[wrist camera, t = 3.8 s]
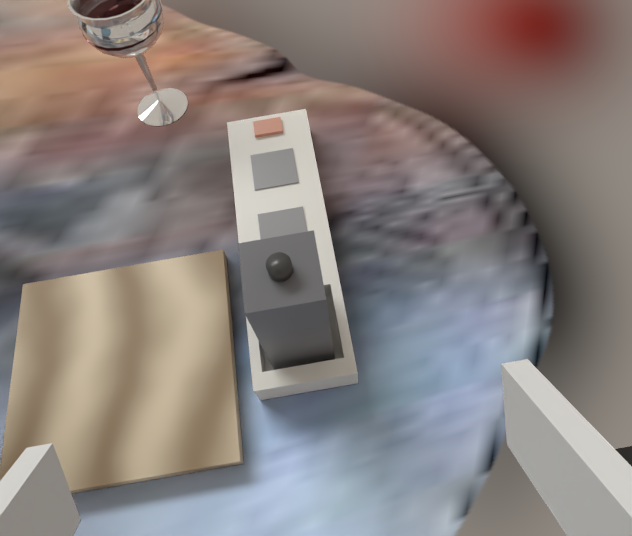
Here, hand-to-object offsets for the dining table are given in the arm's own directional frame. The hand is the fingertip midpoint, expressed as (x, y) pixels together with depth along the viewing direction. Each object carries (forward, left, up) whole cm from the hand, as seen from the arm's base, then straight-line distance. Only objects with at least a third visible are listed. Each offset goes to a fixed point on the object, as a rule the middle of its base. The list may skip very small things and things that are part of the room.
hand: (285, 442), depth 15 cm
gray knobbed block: (0, +11, -20) cm, 23 cm away
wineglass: (-10, +37, -21) cm, 43 cm away
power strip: (0, +19, -21) cm, 28 cm away
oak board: (-13, +11, -21) cm, 27 cm away
